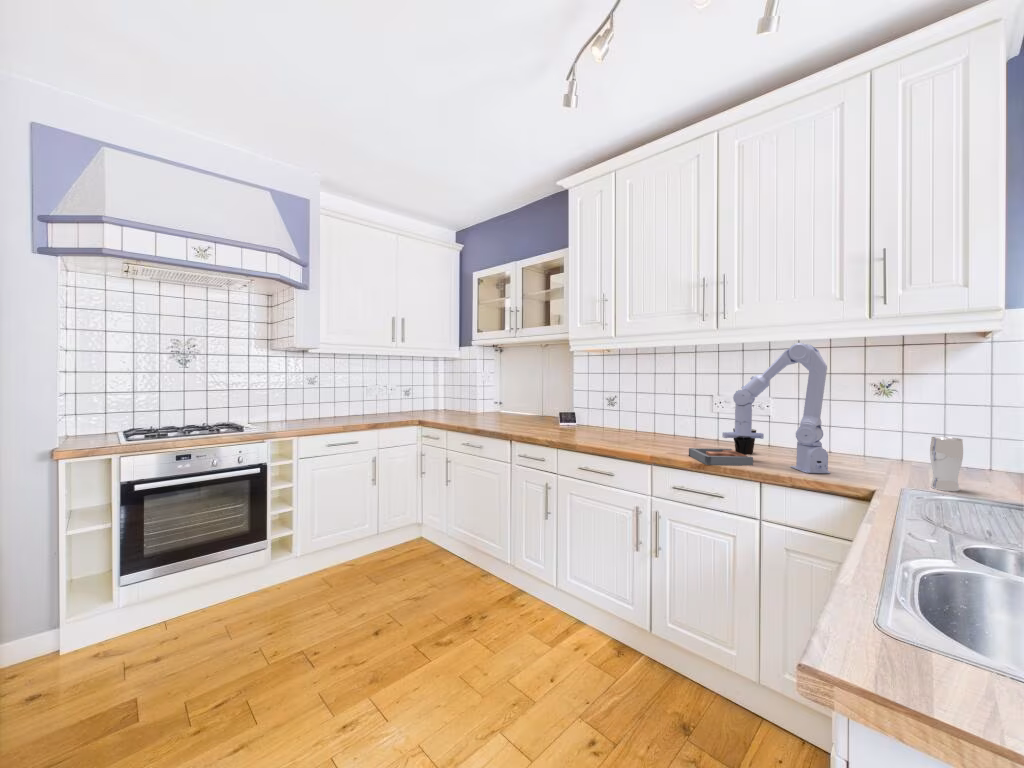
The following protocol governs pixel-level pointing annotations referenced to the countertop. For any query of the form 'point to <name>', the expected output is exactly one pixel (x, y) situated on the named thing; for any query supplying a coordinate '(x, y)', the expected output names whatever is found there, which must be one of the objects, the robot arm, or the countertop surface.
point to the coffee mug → (751, 447)
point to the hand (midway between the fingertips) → (742, 457)
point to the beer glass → (946, 462)
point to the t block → (725, 453)
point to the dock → (718, 457)
